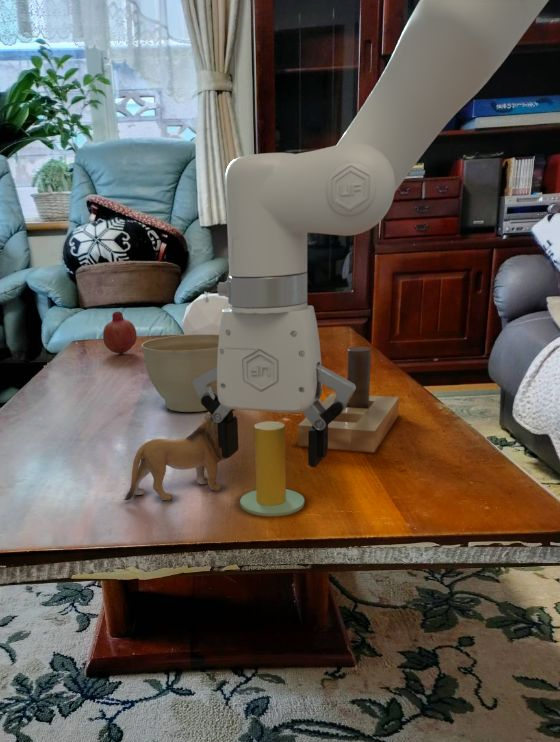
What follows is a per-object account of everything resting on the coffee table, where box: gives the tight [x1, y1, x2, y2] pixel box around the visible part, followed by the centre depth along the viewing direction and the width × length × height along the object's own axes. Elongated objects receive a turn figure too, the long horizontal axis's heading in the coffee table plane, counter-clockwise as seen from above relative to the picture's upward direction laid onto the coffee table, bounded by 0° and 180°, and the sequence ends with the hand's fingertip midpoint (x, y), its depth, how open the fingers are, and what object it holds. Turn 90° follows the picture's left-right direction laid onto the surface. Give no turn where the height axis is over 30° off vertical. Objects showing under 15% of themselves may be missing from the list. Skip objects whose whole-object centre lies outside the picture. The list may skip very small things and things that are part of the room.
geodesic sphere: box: [181, 291, 231, 335], centre depth 153 cm, size 15×14×14 cm
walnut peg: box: [346, 346, 372, 409], centre depth 98 cm, size 3×3×11 cm
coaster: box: [239, 488, 305, 517], centre depth 74 cm, size 7×7×1 cm
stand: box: [297, 393, 400, 453], centre depth 97 cm, size 10×17×3 cm, turn 155°
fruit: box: [102, 310, 137, 355], centre depth 161 cm, size 8×8×10 cm
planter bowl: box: [140, 334, 219, 413], centre depth 113 cm, size 16×16×11 cm
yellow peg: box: [253, 420, 287, 506], centre depth 73 cm, size 3×3×8 cm
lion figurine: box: [123, 411, 235, 501], centre depth 78 cm, size 15×5×9 cm, turn 119°
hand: (272, 458), depth 73 cm, fingers open, 9 cm apart
